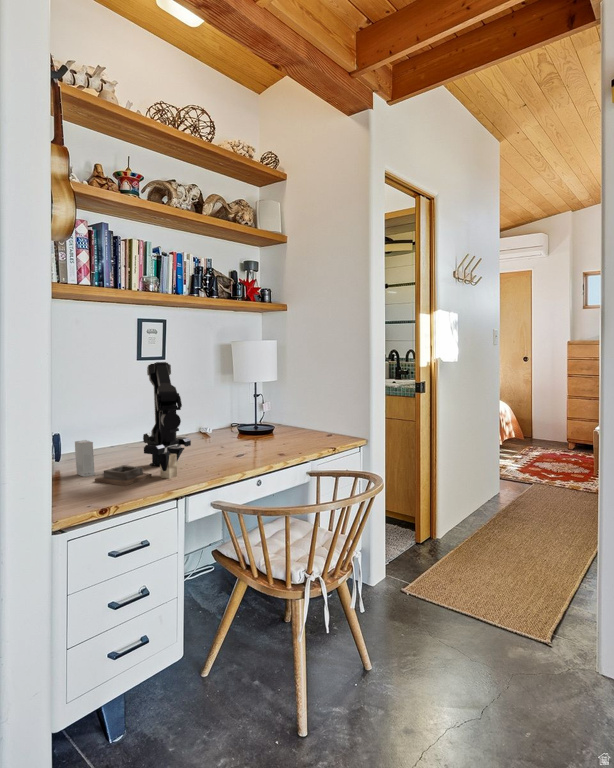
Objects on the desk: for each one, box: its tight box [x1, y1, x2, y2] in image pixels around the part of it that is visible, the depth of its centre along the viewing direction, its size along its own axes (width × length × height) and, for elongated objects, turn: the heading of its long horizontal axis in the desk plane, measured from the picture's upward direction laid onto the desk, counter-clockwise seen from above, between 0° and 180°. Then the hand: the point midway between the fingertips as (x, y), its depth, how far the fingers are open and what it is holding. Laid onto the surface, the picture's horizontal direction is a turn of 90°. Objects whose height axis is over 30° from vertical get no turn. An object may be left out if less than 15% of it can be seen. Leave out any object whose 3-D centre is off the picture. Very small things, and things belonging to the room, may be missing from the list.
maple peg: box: [159, 453, 178, 480], centre depth 174 cm, size 4×4×8 cm
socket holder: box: [94, 464, 153, 487], centre depth 171 cm, size 13×13×4 cm
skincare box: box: [74, 439, 96, 478], centre depth 176 cm, size 6×4×12 cm
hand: (168, 469), depth 174 cm, fingers closed on maple peg, 4 cm apart
